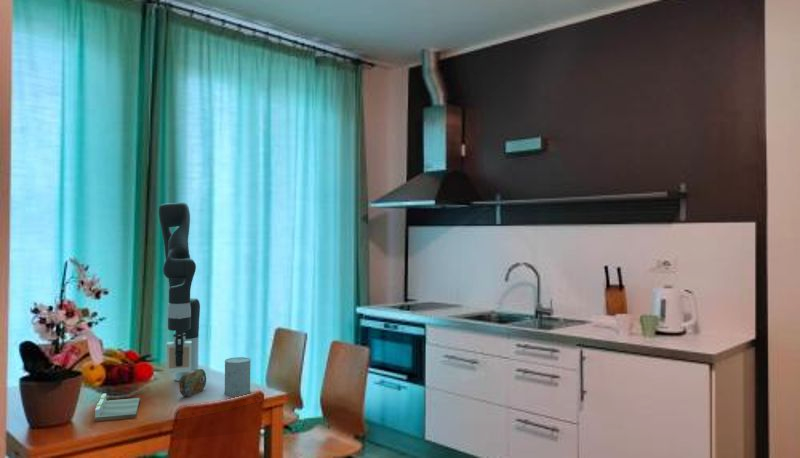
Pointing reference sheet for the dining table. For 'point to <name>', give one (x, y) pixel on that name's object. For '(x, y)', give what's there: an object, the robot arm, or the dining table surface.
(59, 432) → the dining table surface
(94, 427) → the dining table surface
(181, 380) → the tin
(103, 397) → the rail
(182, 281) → the robot arm
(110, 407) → the shelf board
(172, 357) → the carton
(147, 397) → the dining table surface
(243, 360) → the grey stone cylinder
